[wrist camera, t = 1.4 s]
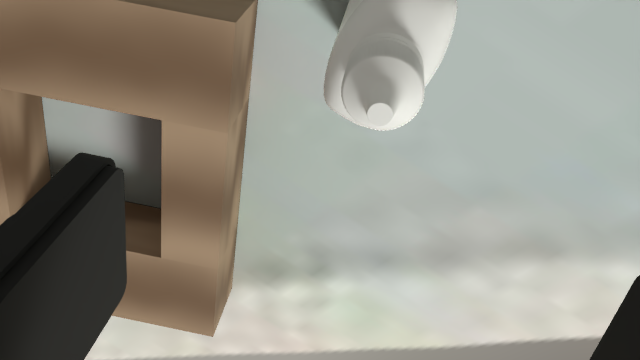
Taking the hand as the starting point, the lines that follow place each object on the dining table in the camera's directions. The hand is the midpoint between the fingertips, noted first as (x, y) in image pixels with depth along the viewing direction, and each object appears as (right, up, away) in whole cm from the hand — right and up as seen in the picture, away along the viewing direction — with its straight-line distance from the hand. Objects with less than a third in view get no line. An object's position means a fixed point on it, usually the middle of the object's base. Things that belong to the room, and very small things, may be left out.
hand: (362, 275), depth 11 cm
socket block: (-12, +4, +21) cm, 24 cm away
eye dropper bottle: (+2, +10, +15) cm, 18 cm away
